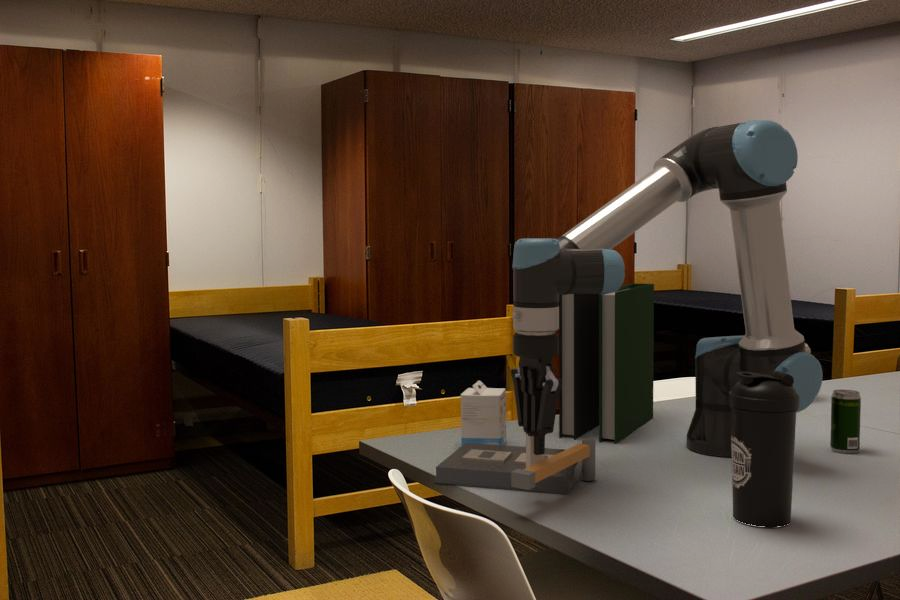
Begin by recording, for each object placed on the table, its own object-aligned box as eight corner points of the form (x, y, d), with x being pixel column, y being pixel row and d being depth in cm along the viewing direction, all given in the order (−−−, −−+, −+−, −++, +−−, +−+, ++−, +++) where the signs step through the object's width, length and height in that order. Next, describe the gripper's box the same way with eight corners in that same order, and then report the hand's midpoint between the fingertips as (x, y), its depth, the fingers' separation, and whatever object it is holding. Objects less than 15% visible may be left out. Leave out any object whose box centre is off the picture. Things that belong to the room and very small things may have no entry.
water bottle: (716, 509, 139) (718, 368, 137) (778, 507, 140) (780, 366, 138) (743, 531, 129) (745, 379, 127) (809, 528, 130) (812, 377, 128)
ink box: (501, 451, 177) (500, 387, 176) (460, 450, 178) (460, 386, 177) (506, 441, 185) (506, 379, 184) (468, 440, 187) (467, 378, 186)
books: (619, 444, 181) (619, 292, 178) (553, 437, 188) (552, 290, 185) (653, 418, 205) (653, 283, 202) (593, 412, 212) (593, 282, 209)
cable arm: (583, 475, 158) (583, 437, 157) (599, 478, 156) (599, 439, 155) (511, 514, 137) (511, 469, 137) (529, 518, 136) (528, 473, 135)
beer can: (865, 452, 172) (867, 393, 171) (844, 455, 170) (846, 395, 169) (844, 446, 177) (846, 388, 176) (824, 448, 175) (825, 390, 174)
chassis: (585, 466, 165) (585, 448, 165) (568, 494, 148) (568, 474, 148) (465, 457, 173) (465, 440, 172) (436, 483, 156) (435, 464, 155)
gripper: (497, 328, 147) (496, 465, 149) (536, 338, 135) (535, 485, 137) (535, 326, 150) (534, 459, 152) (576, 335, 138) (575, 479, 140)
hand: (535, 471), depth 145 cm, fingers closed
